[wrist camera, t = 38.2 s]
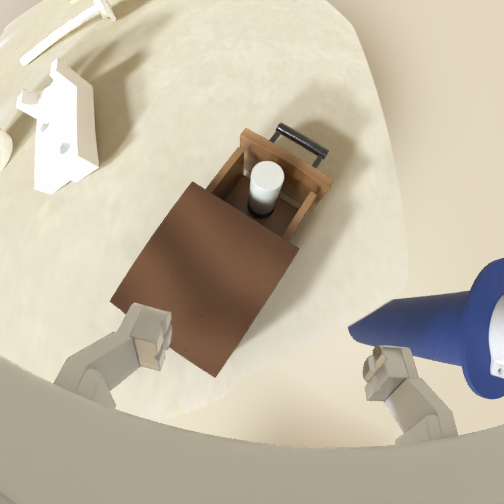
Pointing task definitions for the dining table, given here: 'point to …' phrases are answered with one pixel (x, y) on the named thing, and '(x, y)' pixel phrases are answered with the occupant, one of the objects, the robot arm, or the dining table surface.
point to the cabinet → (206, 275)
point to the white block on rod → (69, 28)
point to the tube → (264, 188)
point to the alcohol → (5, 148)
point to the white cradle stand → (62, 128)
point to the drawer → (295, 181)
